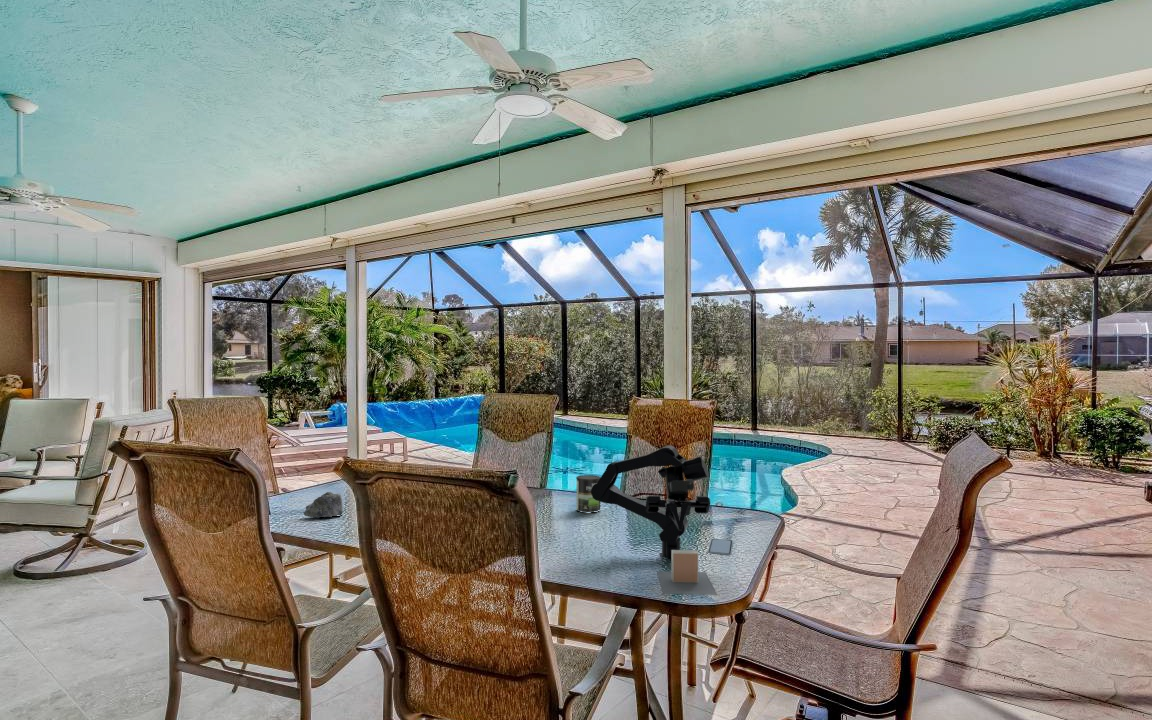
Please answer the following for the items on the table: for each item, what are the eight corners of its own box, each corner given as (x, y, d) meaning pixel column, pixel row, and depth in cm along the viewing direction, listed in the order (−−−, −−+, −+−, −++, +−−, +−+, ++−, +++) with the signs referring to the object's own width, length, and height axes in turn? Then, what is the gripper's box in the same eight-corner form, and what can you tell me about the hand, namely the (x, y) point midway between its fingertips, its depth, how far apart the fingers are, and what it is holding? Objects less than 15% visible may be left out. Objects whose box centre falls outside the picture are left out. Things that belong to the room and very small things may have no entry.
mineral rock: (301, 519, 226) (302, 493, 227) (319, 512, 237) (320, 488, 237) (330, 521, 224) (331, 495, 224) (347, 514, 234) (347, 489, 234)
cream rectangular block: (671, 578, 160) (671, 549, 160) (696, 579, 160) (696, 550, 160) (672, 582, 157) (672, 553, 158) (698, 582, 157) (698, 553, 157)
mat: (656, 574, 166) (656, 571, 166) (705, 575, 165) (705, 572, 166) (663, 597, 150) (663, 593, 150) (717, 598, 149) (717, 594, 149)
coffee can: (605, 511, 240) (605, 477, 240) (583, 514, 235) (583, 480, 235) (592, 506, 249) (592, 473, 249) (571, 509, 244) (571, 476, 244)
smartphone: (707, 552, 186) (711, 538, 200) (707, 555, 186) (711, 541, 200) (731, 554, 184) (733, 540, 198) (731, 557, 184) (733, 542, 198)
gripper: (646, 468, 174) (649, 514, 162) (709, 469, 173) (716, 515, 162) (644, 489, 181) (647, 534, 170) (704, 490, 181) (711, 535, 169)
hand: (680, 529), depth 168 cm, fingers closed
